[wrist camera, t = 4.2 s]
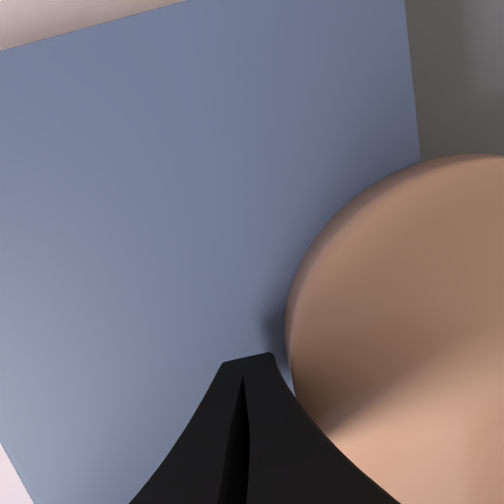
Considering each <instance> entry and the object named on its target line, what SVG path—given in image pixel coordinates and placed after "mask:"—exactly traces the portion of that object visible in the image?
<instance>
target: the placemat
mask: <svg viewBox="0 0 504 504" xmlns="http://www.w3.org/2000/svg"><path fill="white" fill-rule="evenodd" d="M404 3H405V12H406V22H407V31H408V41H409V51H410V60H411V70H412V79H413V89H414V98H415V108H416V117H417V127H418V137H419V146H420V156H421V162H425V161H428V160H432V159H435V158H440V157H447V156H453V155H459V154H493V155H502V156H504V0H404Z"/></svg>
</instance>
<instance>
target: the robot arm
mask: <svg viewBox="0 0 504 504" xmlns="http://www.w3.org/2000/svg"><path fill="white" fill-rule="evenodd" d="M129 504H401V503H400V502H398V501H397V500H396V499H395V498H393V497H392V496H391V495H390V494H389V493H387V492H386V491H385V490H384V489H383V488H381V487H380V486H379V485H378V484H377V483H376V482H374V481H373V480H372V479H371V478H370V477H368V476H367V475H366V474H365V473H364V472H362V471H361V470H360V469H359V468H358V467H357V466H356V465H355V464H354V463H353V462H352V461H351V460H350V459H349V458H347V457H346V456H345V455H344V454H343V453H342V452H341V451H340V450H339V449H338V448H337V447H336V446H335V445H334V444H333V442H332V441H331V440H330V439H329V438H328V437H327V436H326V435H325V434H324V433H323V432H322V431H321V429H320V428H319V427H318V426H317V425H316V424H315V422H314V421H313V420H312V419H311V417H310V416H309V415H308V414H307V412H306V411H305V410H304V409H303V407H302V406H301V405H300V403H299V402H298V400H297V399H296V397H295V396H294V394H293V393H292V391H291V390H290V389H289V387H288V385H287V384H286V382H285V380H284V379H283V377H282V375H281V373H280V371H279V369H278V367H277V363H276V360H275V356H274V354H272V353H270V352H265V353H261V354H256V355H252V356H248V357H243V358H239V359H235V360H230V361H226V362H223V363H222V364H221V366H220V367H219V369H218V371H217V373H216V375H215V377H214V379H213V380H212V382H211V384H210V386H209V388H208V390H207V392H206V393H205V395H204V397H203V399H202V401H201V402H200V404H199V406H198V407H197V409H196V411H195V413H194V414H193V416H192V418H191V419H190V421H189V423H188V424H187V426H186V428H185V429H184V431H183V432H182V434H181V435H180V437H179V438H178V440H177V441H176V443H175V444H174V446H173V447H172V449H171V450H170V452H169V453H168V455H167V456H166V458H165V459H164V460H163V462H162V463H161V464H160V466H159V467H158V469H157V470H156V471H155V472H154V474H153V475H152V476H151V477H150V479H149V480H148V481H147V482H146V484H145V485H144V486H143V487H142V489H141V490H140V491H139V492H138V493H137V495H136V496H135V497H134V498H133V499H132V500H131V501H130V503H129Z"/></svg>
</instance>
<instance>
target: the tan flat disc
mask: <svg viewBox="0 0 504 504" xmlns="http://www.w3.org/2000/svg"><path fill="white" fill-rule="evenodd" d="M284 341H285V348H286V355H287V360H288V365H289V369H290V374H291V378H292V382H293V387H294V391H295V396H296V399H297V400H298V402H299V403H300V405H301V406H302V407H303V409H304V410H305V411H306V412H307V414H308V415H309V416H310V417H311V419H312V420H313V421H314V422H315V424H316V425H317V426H318V427H319V428H320V429H321V431H322V432H323V433H324V434H325V435H326V436H327V437H328V438H329V439H330V440H331V441H332V442H333V444H334V445H335V446H336V447H337V448H338V449H339V450H340V451H341V452H342V453H343V454H344V455H345V456H346V457H347V458H349V459H350V460H351V461H352V462H353V463H354V464H355V465H356V466H357V467H358V468H359V469H360V470H361V471H362V472H364V473H365V474H366V475H367V476H368V477H370V478H371V479H372V480H373V481H374V482H376V483H377V484H378V485H379V486H380V487H381V488H383V489H384V490H385V491H386V492H387V493H389V494H390V495H391V496H392V497H393V498H395V499H396V500H397V501H398V502H400V503H401V504H504V156H502V155H493V154H459V155H453V156H447V157H440V158H435V159H432V160H428V161H425V162H421V163H418V164H415V165H412V166H409V167H407V168H405V169H402V170H400V171H398V172H395V173H393V174H391V175H389V176H387V177H385V178H384V179H382V180H380V181H378V182H377V183H375V184H373V185H372V186H370V187H368V188H367V189H365V190H364V191H363V192H361V193H360V194H359V195H357V196H356V197H355V198H354V199H352V200H351V201H350V202H348V203H347V204H346V205H345V206H344V207H343V208H342V209H341V210H340V211H339V212H338V213H337V214H336V215H335V216H334V217H333V218H332V219H331V220H330V221H329V222H328V223H327V224H326V226H325V227H324V228H323V229H322V231H321V232H320V233H319V234H318V235H317V237H316V238H315V239H314V241H313V243H312V244H311V246H310V247H309V249H308V251H307V252H306V254H305V255H304V257H303V259H302V261H301V263H300V265H299V268H298V270H297V272H296V274H295V277H294V279H293V282H292V285H291V289H290V292H289V295H288V299H287V305H286V312H285V318H284Z"/></svg>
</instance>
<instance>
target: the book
mask: <svg viewBox="0 0 504 504" xmlns="http://www.w3.org/2000/svg"><path fill="white" fill-rule="evenodd" d="M418 163H421V156H420V146H419V137H418V127H417V117H416V108H415V98H414V89H413V79H412V70H411V60H410V51H409V41H408V31H407V22H406V12H405V3H404V0H188V1H184V2H180V3H177V4H173V5H169V6H166V7H162V8H158V9H155V10H151V11H147V12H144V13H140V14H136V15H133V16H129V17H125V18H121V19H118V20H114V21H110V22H107V23H103V24H99V25H96V26H92V27H88V28H85V29H81V30H77V31H74V32H70V33H66V34H62V35H59V36H55V37H51V38H48V39H44V40H40V41H37V42H33V43H29V44H26V45H22V46H18V47H15V48H11V49H7V50H3V51H0V443H1V445H2V447H3V448H4V450H5V452H6V454H7V456H8V458H9V459H10V461H11V463H12V465H13V467H14V468H15V470H16V472H17V474H18V476H19V477H20V479H21V481H22V483H23V485H24V486H25V488H26V490H27V492H28V494H29V495H30V497H31V499H32V501H33V503H34V504H129V503H130V501H131V500H132V499H133V498H134V497H135V496H136V495H137V493H138V492H139V491H140V490H141V489H142V487H143V486H144V485H145V484H146V482H147V481H148V480H149V479H150V477H151V476H152V475H153V474H154V472H155V471H156V470H157V469H158V467H159V466H160V464H161V463H162V462H163V460H164V459H165V458H166V456H167V455H168V453H169V452H170V450H171V449H172V447H173V446H174V444H175V443H176V441H177V440H178V438H179V437H180V435H181V434H182V432H183V431H184V429H185V428H186V426H187V424H188V423H189V421H190V419H191V418H192V416H193V414H194V413H195V411H196V409H197V407H198V406H199V404H200V402H201V401H202V399H203V397H204V395H205V393H206V392H207V390H208V388H209V386H210V384H211V382H212V380H213V379H214V377H215V375H216V373H217V371H218V369H219V367H220V366H221V364H222V363H223V362H226V361H230V360H235V359H239V358H243V357H248V356H252V355H256V354H261V353H265V352H270V353H272V354H274V356H275V360H276V363H277V367H278V369H279V371H280V373H281V375H282V377H283V379H284V380H285V382H286V384H287V385H288V387H289V389H290V390H291V391H292V393H293V394H294V396H295V391H294V387H293V382H292V378H291V374H290V369H289V365H288V360H287V355H286V348H285V341H284V318H285V312H286V305H287V299H288V295H289V292H290V289H291V285H292V282H293V279H294V277H295V274H296V272H297V270H298V268H299V265H300V263H301V261H302V259H303V257H304V255H305V254H306V252H307V251H308V249H309V247H310V246H311V244H312V243H313V241H314V239H315V238H316V237H317V235H318V234H319V233H320V232H321V231H322V229H323V228H324V227H325V226H326V224H327V223H328V222H329V221H330V220H331V219H332V218H333V217H334V216H335V215H336V214H337V213H338V212H339V211H340V210H341V209H342V208H343V207H344V206H345V205H346V204H347V203H348V202H350V201H351V200H352V199H354V198H355V197H356V196H357V195H359V194H360V193H361V192H363V191H364V190H365V189H367V188H368V187H370V186H372V185H373V184H375V183H377V182H378V181H380V180H382V179H384V178H385V177H387V176H389V175H391V174H393V173H395V172H398V171H400V170H402V169H405V168H407V167H409V166H412V165H415V164H418ZM295 397H296V396H295Z"/></svg>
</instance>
